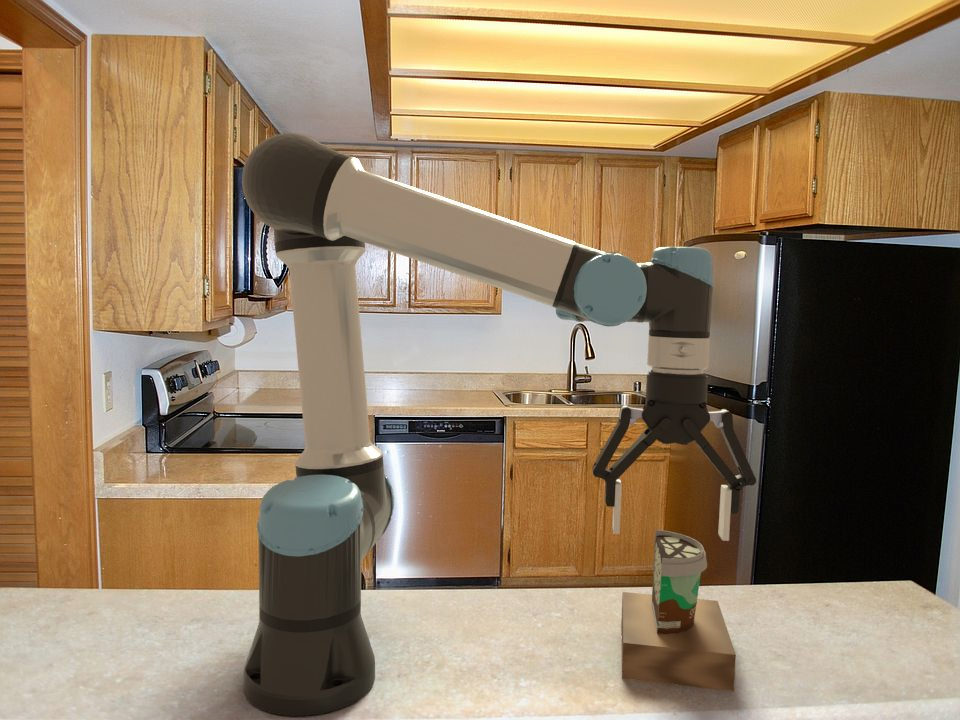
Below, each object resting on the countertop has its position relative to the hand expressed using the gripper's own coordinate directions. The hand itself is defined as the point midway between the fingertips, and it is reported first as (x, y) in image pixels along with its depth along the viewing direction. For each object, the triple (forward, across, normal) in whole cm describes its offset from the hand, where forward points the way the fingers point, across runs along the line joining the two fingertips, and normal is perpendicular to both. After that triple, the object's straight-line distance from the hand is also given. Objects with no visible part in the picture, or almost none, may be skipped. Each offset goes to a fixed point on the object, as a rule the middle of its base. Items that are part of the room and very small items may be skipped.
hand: (669, 534), depth 95 cm
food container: (+12, +2, 0) cm, 12 cm away
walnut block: (+16, +1, 0) cm, 16 cm away
